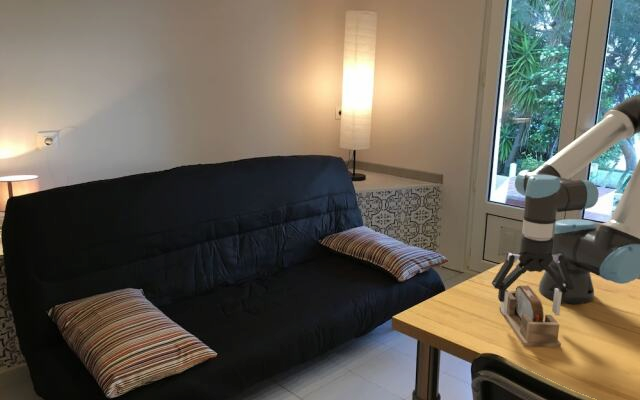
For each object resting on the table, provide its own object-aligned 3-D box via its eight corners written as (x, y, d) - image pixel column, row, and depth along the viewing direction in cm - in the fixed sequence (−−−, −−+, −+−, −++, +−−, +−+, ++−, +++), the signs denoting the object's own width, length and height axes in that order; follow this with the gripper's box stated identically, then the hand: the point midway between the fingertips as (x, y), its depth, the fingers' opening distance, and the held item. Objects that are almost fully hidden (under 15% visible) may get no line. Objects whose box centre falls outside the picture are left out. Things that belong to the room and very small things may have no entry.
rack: (531, 310, 147) (533, 291, 146) (560, 347, 128) (563, 325, 126) (499, 310, 148) (501, 290, 146) (523, 346, 128) (526, 324, 127)
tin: (541, 336, 131) (547, 306, 129) (528, 335, 131) (535, 305, 129) (521, 308, 146) (527, 280, 144) (510, 307, 146) (515, 279, 144)
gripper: (580, 232, 135) (571, 307, 140) (484, 231, 136) (478, 305, 141) (594, 241, 127) (583, 320, 133) (492, 240, 128) (485, 318, 134)
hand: (529, 312), depth 137 cm, fingers open, 13 cm apart
